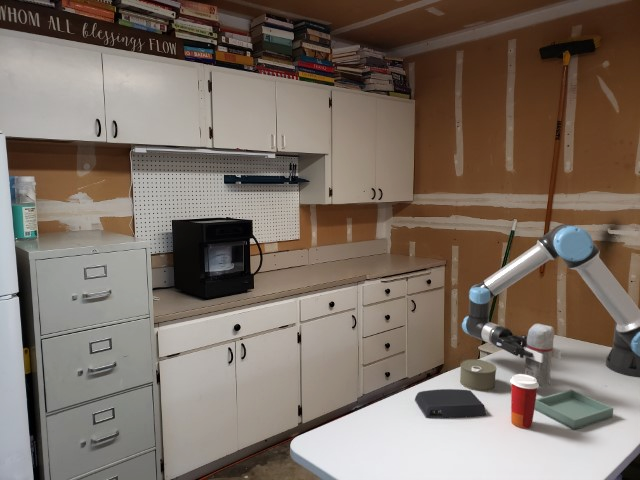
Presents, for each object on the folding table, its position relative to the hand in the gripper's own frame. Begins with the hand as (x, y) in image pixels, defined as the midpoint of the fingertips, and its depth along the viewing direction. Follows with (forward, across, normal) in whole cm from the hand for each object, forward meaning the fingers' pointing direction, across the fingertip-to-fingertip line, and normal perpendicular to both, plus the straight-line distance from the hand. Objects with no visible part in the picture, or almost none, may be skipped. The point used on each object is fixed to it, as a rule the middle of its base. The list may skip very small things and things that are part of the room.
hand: (551, 356), depth 155 cm
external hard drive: (-8, +35, -15) cm, 39 cm away
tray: (+10, +2, -14) cm, 18 cm away
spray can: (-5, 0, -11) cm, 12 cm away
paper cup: (+8, +22, -14) cm, 28 cm away
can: (-18, +14, -14) cm, 27 cm away
